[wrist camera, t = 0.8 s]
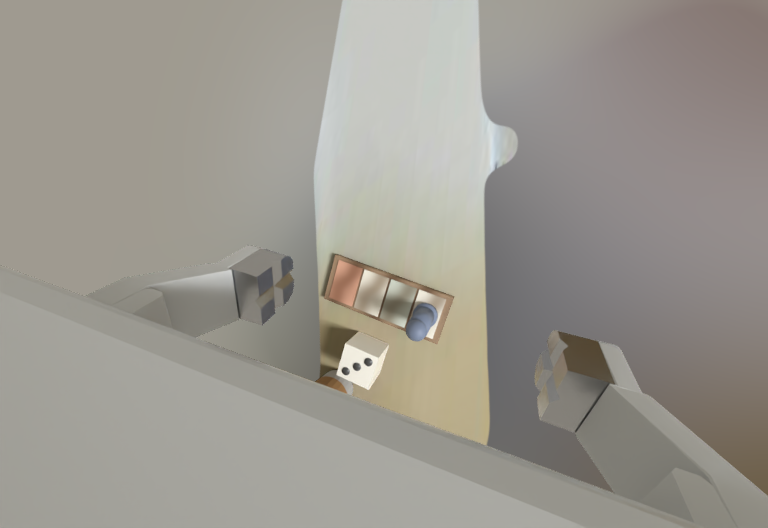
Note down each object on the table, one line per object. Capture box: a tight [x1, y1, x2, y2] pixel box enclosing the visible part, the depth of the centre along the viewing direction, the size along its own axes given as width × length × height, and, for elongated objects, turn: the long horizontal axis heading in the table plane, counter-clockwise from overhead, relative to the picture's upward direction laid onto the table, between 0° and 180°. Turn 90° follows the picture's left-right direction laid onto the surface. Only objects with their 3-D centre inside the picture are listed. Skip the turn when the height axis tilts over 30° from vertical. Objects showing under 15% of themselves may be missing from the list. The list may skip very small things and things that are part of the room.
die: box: [336, 331, 389, 390], centre depth 54 cm, size 6×6×6 cm
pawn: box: [406, 303, 438, 341], centre depth 47 cm, size 4×4×9 cm
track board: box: [324, 254, 454, 344], centre depth 54 cm, size 22×8×1 cm, turn 75°
